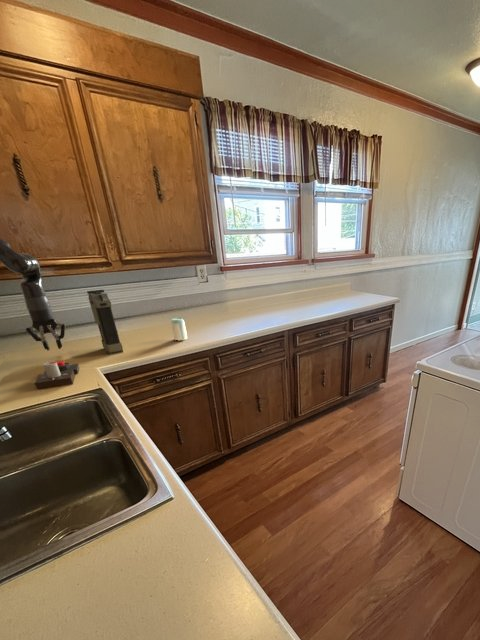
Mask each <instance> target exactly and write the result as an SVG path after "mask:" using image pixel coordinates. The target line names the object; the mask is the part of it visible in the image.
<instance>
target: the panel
mask: <svg viewBox="0 0 480 640" xmlns="http://www.w3.org/2000/svg"><path fill="white" fill-rule="evenodd" d="M60 373H61V375H60V376H59V377H55V378H48V376H47V374H44V373H40V374H38V376H37V377H36V379H35V381H34V386H35V388H36V391H41V390H47V389H53V388H59V387H64V386H72V385H74V382H75V379H76V374H74V371H73V370H67V371H60Z"/></svg>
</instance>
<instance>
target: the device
mask: <svg viewBox="0 0 480 640" xmlns="http://www.w3.org/2000/svg"><path fill="white" fill-rule="evenodd" d="M86 293H87V294H86V295H87V296H88V302H89V305H90V308H91V312H92V316H93V318H94V322H95V324H97V327H98V330H99V334H100V338H101V345H102V347H103V350H104V351H105V352H106V353H107V354H109V355H115V354H120V353H124V349H123V345H122V342H121V341H120V337H119V333H118V332H119V331H118V328H117V325H116V321H115V318H114V314H113V310H112V301H111V300H110V298H109V296H108V293H107V292H105V290H104V289H96V290H95V289H94V290H87V291H86Z"/></svg>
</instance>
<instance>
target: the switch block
mask: <svg viewBox="0 0 480 640" xmlns="http://www.w3.org/2000/svg"><path fill="white" fill-rule="evenodd" d="M64 363H65V365H63V366H59V367H58V368H59V371H67V370H73V371H74V374H75V375H79V371H80V365H79V363H73V364H70V363H69V362H66V361H64ZM43 374H47V373H46V371H45V370H44V372H43Z"/></svg>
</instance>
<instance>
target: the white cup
mask: <svg viewBox="0 0 480 640" xmlns="http://www.w3.org/2000/svg"><path fill="white" fill-rule="evenodd" d="M42 366H43V368H44V372H45V371H46V373H47V376H48V378H55V377H59V376H60V375H61V373H60V371H59V368H58V365H57V362H56V361H52V360H51V361H47V362H44V363H42Z"/></svg>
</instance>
